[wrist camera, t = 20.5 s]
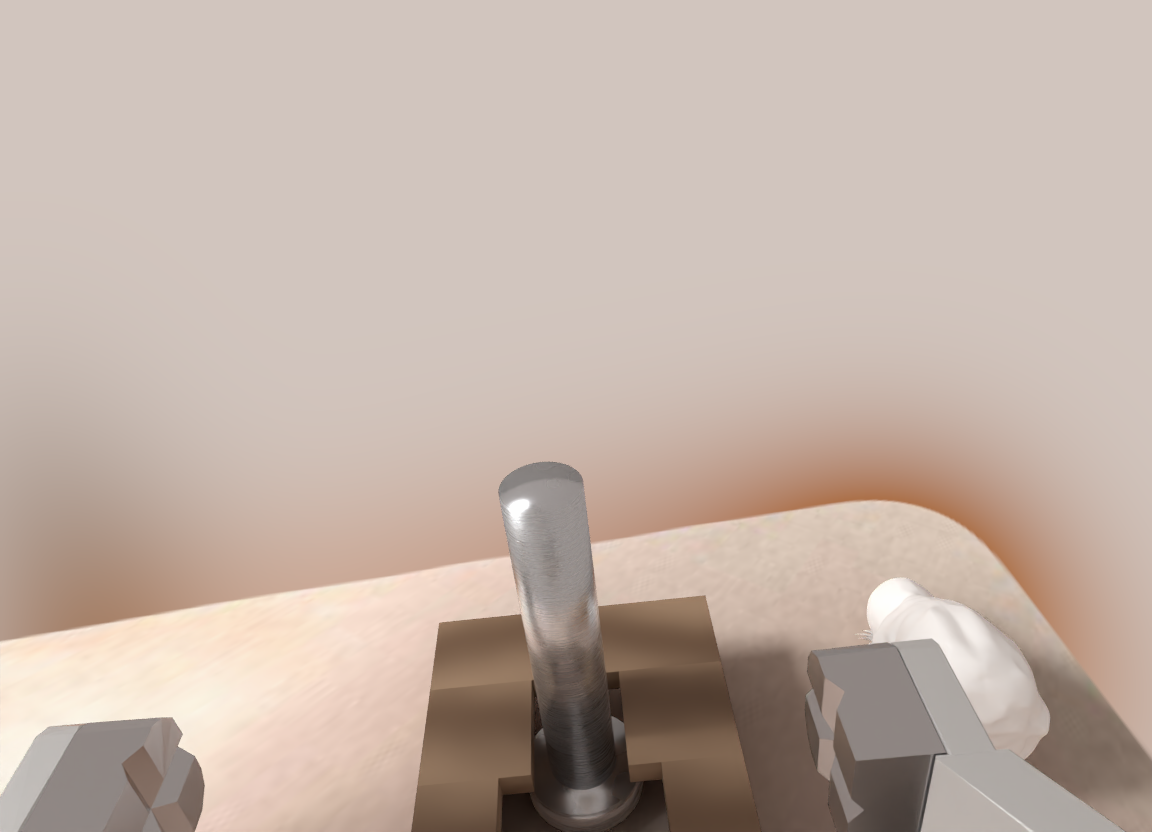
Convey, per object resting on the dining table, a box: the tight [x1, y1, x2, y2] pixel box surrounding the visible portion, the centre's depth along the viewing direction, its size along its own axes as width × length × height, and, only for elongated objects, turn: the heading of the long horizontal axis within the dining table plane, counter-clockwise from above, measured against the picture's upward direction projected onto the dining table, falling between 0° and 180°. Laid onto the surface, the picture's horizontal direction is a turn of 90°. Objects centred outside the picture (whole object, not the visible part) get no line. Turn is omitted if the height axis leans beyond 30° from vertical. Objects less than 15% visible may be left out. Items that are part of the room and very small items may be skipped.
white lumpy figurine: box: [855, 577, 1050, 759], centre depth 41 cm, size 6×8×12 cm
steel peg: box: [499, 462, 643, 832], centre depth 36 cm, size 6×6×18 cm
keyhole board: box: [411, 596, 761, 832], centre depth 37 cm, size 19×14×5 cm
